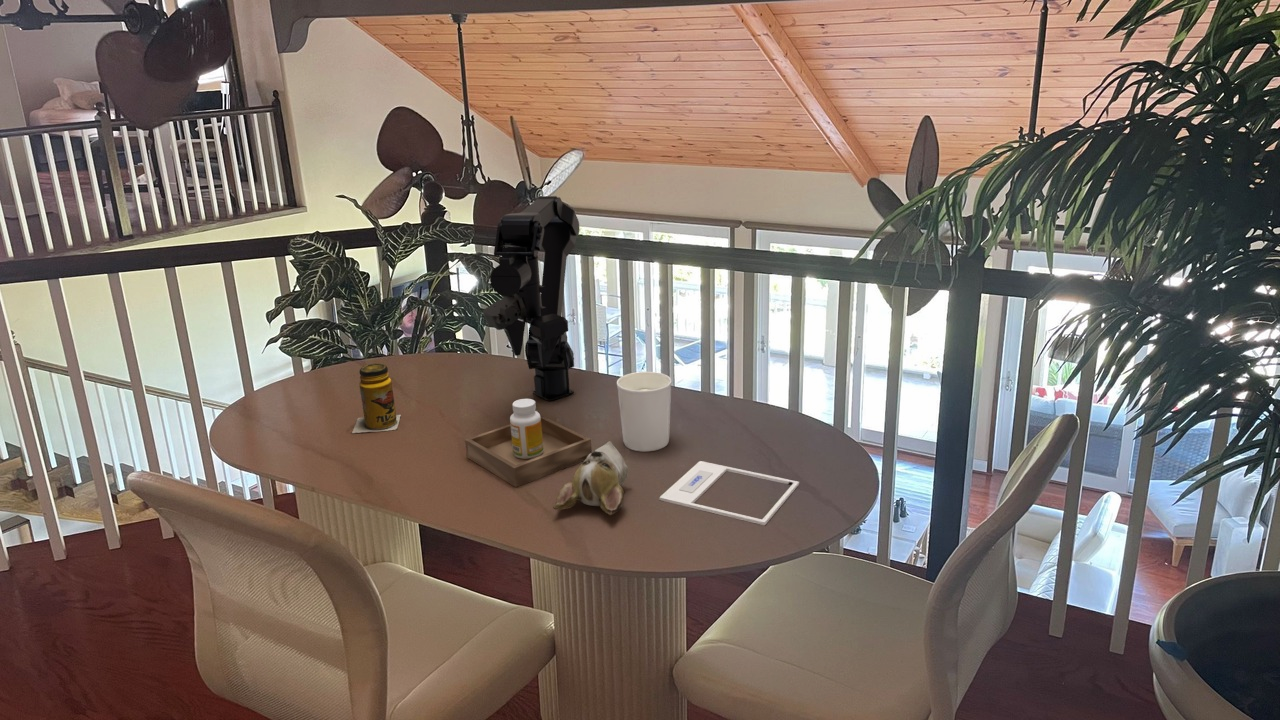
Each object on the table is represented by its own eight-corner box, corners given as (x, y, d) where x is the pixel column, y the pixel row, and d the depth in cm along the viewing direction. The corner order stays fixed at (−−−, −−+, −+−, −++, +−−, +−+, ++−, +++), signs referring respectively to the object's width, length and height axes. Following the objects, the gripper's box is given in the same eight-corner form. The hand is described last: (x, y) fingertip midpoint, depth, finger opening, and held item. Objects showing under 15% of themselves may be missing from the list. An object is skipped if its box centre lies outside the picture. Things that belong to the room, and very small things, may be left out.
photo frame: (699, 459, 154) (799, 480, 146) (700, 465, 155) (799, 486, 146) (659, 496, 143) (764, 521, 134) (659, 502, 143) (764, 527, 134)
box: (540, 431, 170) (539, 414, 169) (592, 457, 158) (591, 439, 157) (466, 457, 160) (464, 439, 159) (516, 487, 149) (514, 468, 148)
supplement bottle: (546, 446, 161) (542, 396, 158) (540, 460, 156) (535, 408, 153) (517, 446, 162) (512, 396, 159) (510, 459, 157) (504, 408, 154)
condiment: (396, 430, 173) (388, 372, 169) (351, 434, 172) (342, 375, 168) (401, 415, 180) (393, 359, 176) (357, 419, 179) (349, 363, 175)
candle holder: (609, 448, 162) (606, 386, 158) (635, 427, 170) (632, 368, 166) (658, 457, 157) (656, 394, 153) (682, 436, 166) (680, 375, 162)
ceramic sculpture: (640, 434, 146) (612, 481, 132) (643, 480, 149) (616, 530, 136) (578, 429, 149) (545, 475, 135) (583, 475, 152) (551, 523, 139)
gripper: (461, 281, 169) (469, 359, 174) (515, 299, 155) (522, 383, 161) (511, 271, 176) (517, 346, 181) (567, 287, 162) (572, 368, 167)
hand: (530, 360), depth 172 cm, fingers open, 9 cm apart
